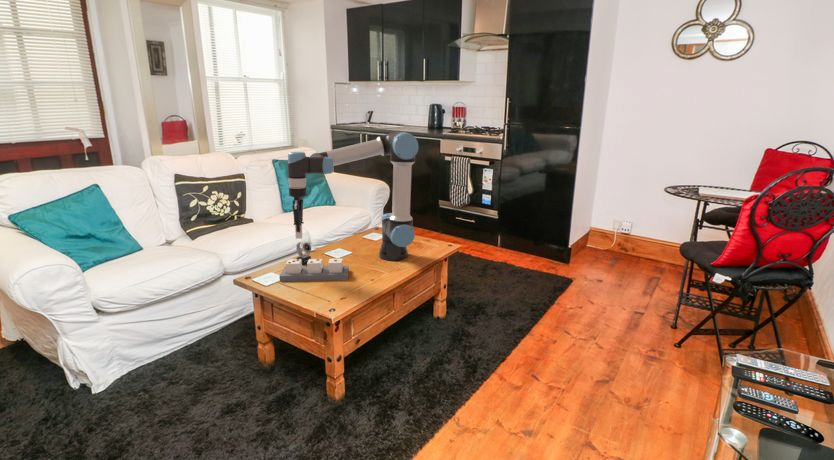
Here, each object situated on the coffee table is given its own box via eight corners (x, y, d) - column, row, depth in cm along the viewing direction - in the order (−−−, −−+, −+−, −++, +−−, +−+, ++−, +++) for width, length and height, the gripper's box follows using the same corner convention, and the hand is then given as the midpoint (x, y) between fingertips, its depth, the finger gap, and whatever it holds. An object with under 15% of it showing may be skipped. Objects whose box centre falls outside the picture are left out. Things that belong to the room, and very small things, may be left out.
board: (348, 270, 216) (348, 265, 216) (347, 279, 205) (346, 274, 204) (285, 271, 214) (284, 266, 213) (279, 281, 202) (279, 276, 202)
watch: (305, 266, 222) (304, 244, 219) (294, 262, 226) (293, 241, 223) (314, 262, 226) (312, 241, 223) (302, 259, 230) (301, 239, 227)
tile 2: (322, 268, 212) (322, 258, 210) (320, 273, 206) (320, 262, 205) (309, 269, 211) (309, 258, 210) (307, 273, 206) (307, 263, 204)
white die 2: (342, 268, 213) (342, 258, 211) (341, 273, 207) (341, 262, 205) (330, 268, 212) (329, 258, 211) (328, 273, 206) (328, 262, 205)
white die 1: (302, 269, 211) (301, 258, 210) (299, 273, 205) (299, 263, 204) (289, 269, 211) (288, 259, 209) (286, 274, 205) (285, 263, 204)
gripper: (291, 184, 206) (293, 234, 212) (285, 189, 193) (287, 242, 200) (308, 184, 207) (309, 234, 213) (303, 189, 194) (304, 242, 200)
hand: (299, 238), depth 206 cm, fingers closed
